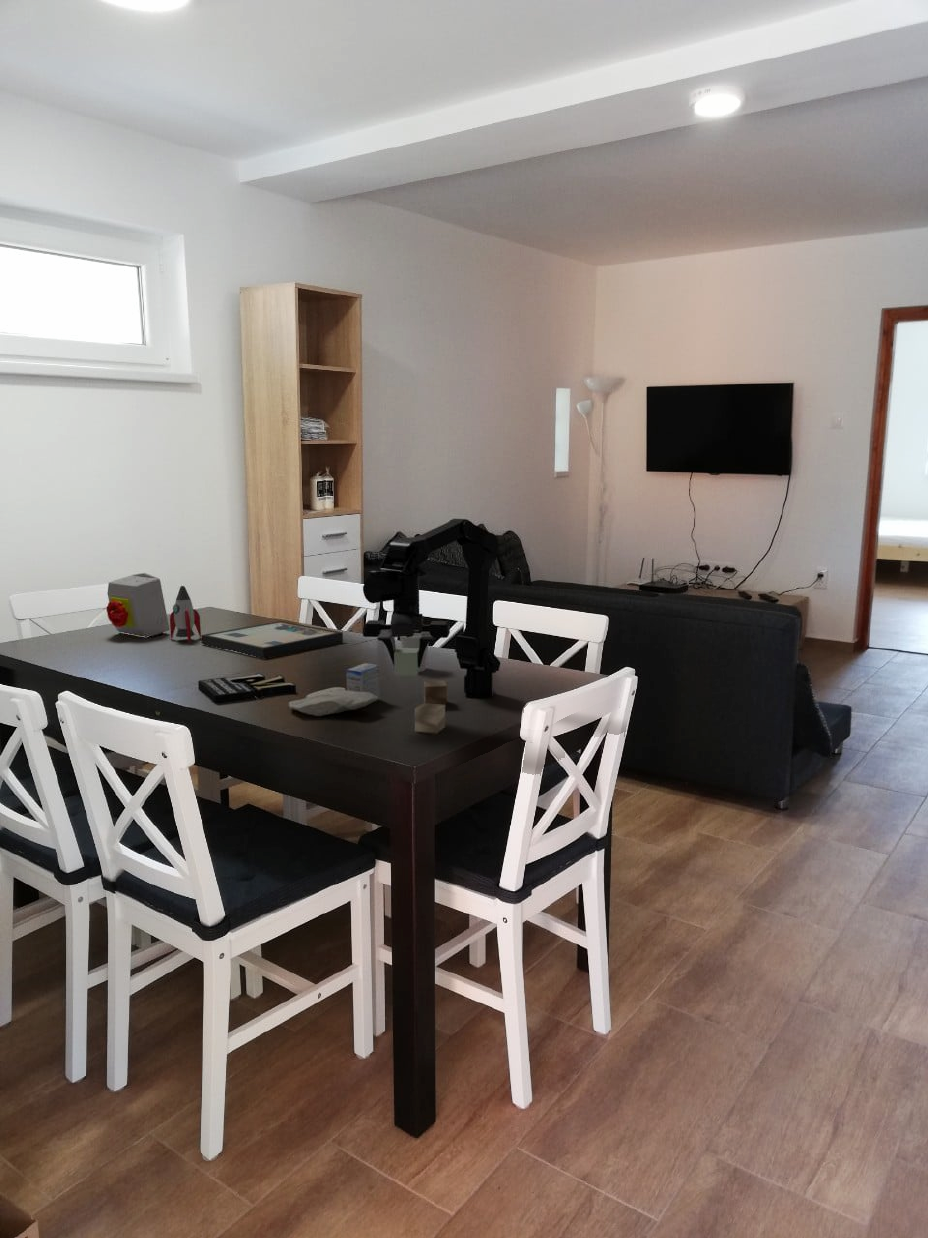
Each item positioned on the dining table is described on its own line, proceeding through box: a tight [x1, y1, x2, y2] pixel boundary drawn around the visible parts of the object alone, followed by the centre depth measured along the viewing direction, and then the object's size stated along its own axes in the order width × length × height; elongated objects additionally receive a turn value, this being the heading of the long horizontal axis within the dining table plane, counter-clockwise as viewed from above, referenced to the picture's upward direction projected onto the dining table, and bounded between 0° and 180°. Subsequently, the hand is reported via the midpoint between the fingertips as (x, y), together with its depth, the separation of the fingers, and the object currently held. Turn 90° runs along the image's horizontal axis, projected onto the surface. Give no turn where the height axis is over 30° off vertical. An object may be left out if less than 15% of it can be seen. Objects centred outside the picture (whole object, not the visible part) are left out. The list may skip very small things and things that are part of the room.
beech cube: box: [414, 702, 446, 734], centre depth 201 cm, size 5×5×5 cm
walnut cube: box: [422, 680, 448, 707], centre depth 221 cm, size 5×5×5 cm
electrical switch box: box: [106, 572, 170, 637], centre depth 300 cm, size 15×15×20 cm
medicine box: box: [346, 662, 381, 708], centre depth 222 cm, size 8×4×9 cm, turn 154°
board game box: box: [201, 620, 344, 659], centre depth 289 cm, size 30×4×30 cm
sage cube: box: [393, 647, 420, 676], centre depth 208 cm, size 5×5×5 cm
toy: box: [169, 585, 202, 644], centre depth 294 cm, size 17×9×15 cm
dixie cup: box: [399, 633, 429, 673], centre depth 254 cm, size 8×8×10 cm
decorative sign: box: [197, 672, 297, 705], centre depth 233 cm, size 17×2×20 cm
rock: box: [288, 686, 378, 717], centre depth 215 cm, size 21×5×15 cm
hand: (407, 666), depth 209 cm, fingers closed on sage cube, 5 cm apart
